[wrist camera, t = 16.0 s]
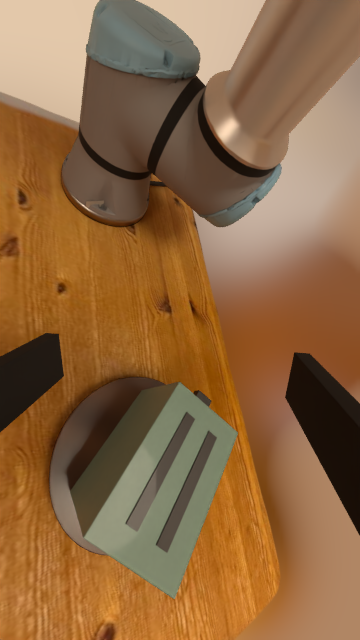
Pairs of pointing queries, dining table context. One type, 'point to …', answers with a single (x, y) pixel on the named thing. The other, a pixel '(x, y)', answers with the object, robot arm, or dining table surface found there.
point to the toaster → (140, 474)
